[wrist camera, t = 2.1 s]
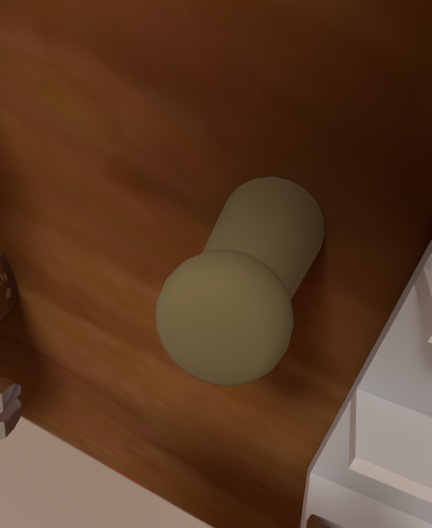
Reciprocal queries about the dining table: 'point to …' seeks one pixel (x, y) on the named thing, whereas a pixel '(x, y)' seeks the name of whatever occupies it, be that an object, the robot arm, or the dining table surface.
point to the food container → (6, 287)
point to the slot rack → (383, 427)
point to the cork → (242, 284)
